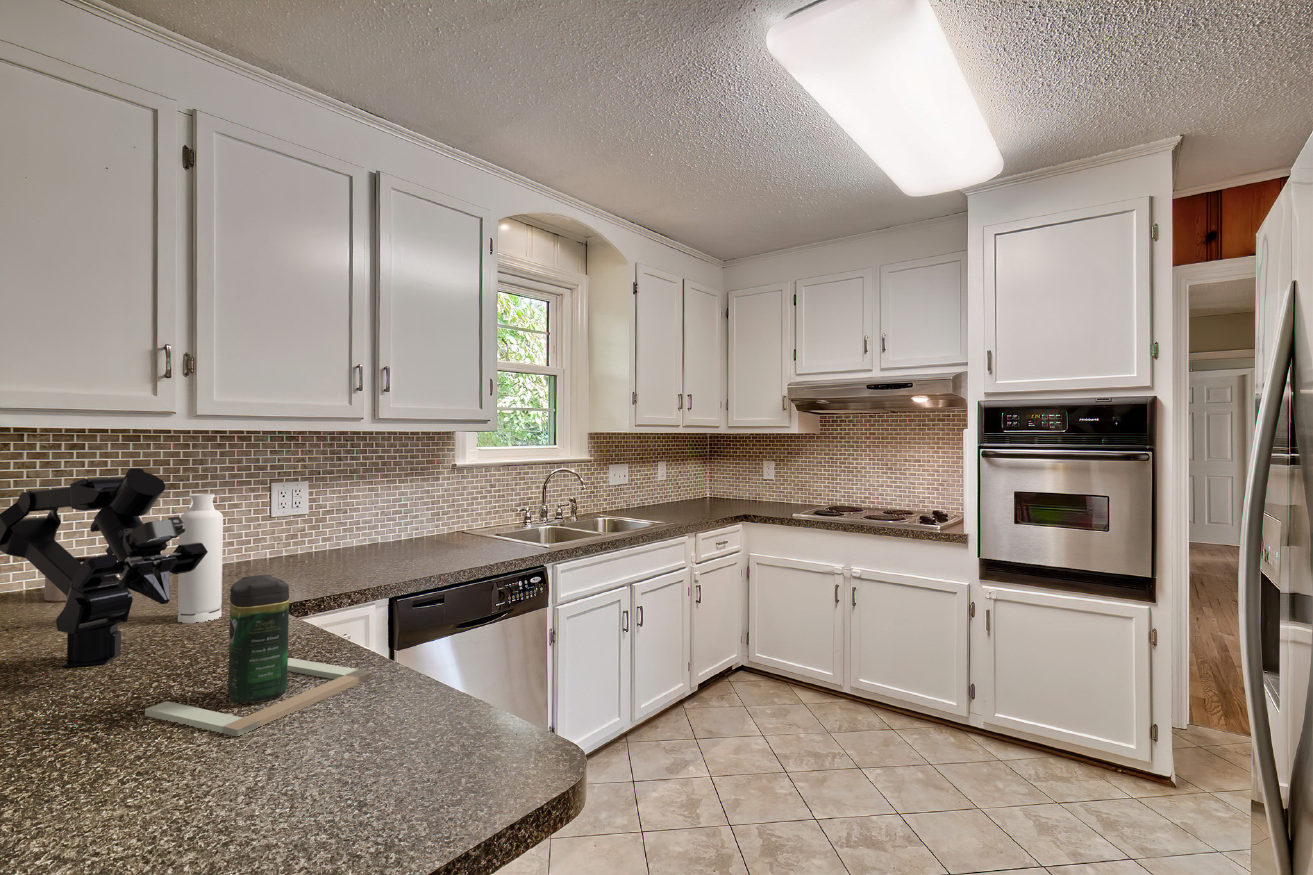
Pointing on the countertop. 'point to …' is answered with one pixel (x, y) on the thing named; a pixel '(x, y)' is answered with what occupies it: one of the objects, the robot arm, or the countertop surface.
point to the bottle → (202, 562)
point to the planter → (55, 593)
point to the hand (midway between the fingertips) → (166, 602)
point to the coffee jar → (258, 639)
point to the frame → (240, 725)
